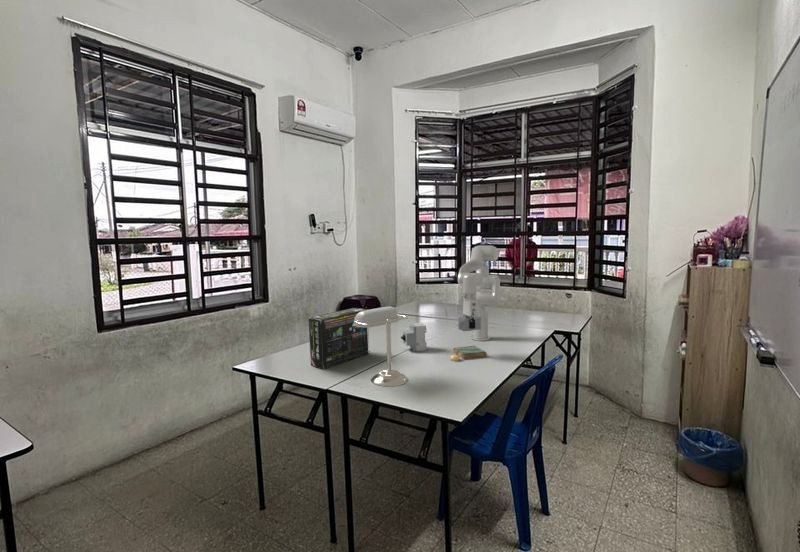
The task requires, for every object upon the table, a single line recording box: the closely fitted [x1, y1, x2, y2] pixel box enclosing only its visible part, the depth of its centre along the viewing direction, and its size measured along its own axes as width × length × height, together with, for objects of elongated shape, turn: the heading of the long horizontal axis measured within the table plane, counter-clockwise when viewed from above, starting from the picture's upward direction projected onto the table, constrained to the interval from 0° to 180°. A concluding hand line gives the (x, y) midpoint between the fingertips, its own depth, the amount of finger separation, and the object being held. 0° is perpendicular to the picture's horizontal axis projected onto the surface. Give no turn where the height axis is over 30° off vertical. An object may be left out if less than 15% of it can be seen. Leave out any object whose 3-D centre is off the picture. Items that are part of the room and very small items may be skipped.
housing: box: [458, 315, 481, 332], centre depth 238 cm, size 11×6×7 cm, turn 113°
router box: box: [307, 307, 370, 370], centre depth 233 cm, size 36×11×27 cm, turn 141°
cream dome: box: [449, 354, 460, 362], centre depth 230 cm, size 5×5×2 cm
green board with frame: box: [452, 345, 487, 360], centre depth 240 cm, size 14×14×3 cm
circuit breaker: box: [400, 322, 428, 352], centre depth 251 cm, size 8×14×15 cm, turn 108°
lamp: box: [353, 306, 409, 387], centre depth 202 cm, size 26×24×34 cm
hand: (469, 326), depth 238 cm, fingers closed on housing, 6 cm apart
